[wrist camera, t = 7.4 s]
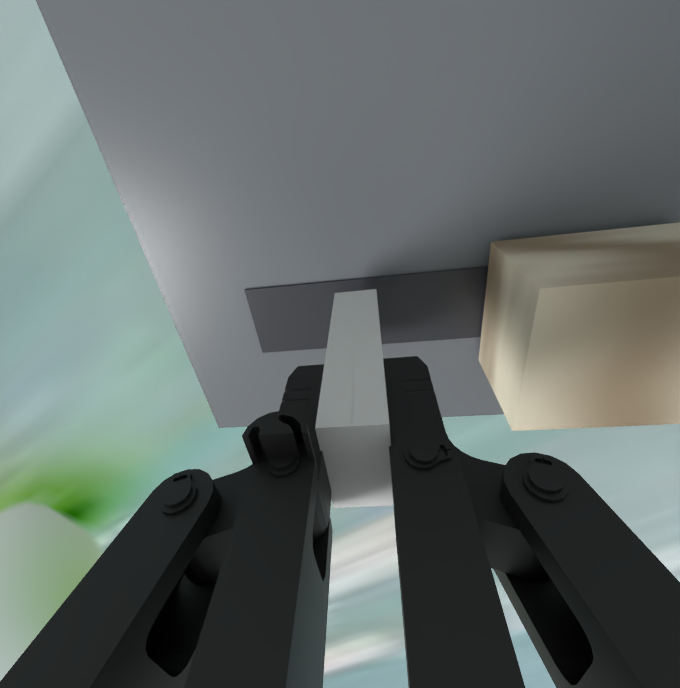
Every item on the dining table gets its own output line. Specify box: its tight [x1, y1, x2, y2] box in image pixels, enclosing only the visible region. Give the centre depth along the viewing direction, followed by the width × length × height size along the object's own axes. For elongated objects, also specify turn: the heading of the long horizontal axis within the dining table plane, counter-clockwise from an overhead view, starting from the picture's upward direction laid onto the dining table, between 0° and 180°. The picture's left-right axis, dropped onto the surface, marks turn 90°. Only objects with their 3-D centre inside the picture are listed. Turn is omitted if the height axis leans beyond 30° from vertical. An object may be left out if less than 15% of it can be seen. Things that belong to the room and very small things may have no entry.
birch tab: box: [479, 222, 680, 431], centre depth 11 cm, size 6×5×4 cm
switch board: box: [36, 0, 680, 428], centre depth 11 cm, size 24×24×2 cm
